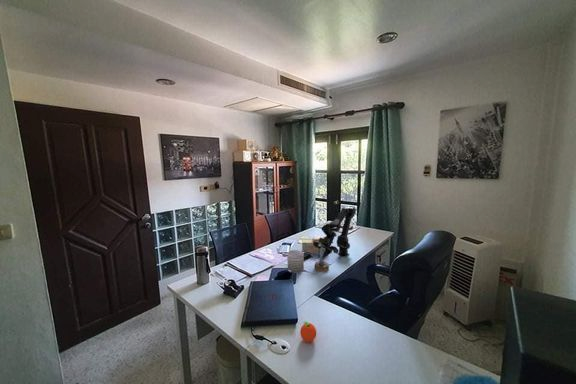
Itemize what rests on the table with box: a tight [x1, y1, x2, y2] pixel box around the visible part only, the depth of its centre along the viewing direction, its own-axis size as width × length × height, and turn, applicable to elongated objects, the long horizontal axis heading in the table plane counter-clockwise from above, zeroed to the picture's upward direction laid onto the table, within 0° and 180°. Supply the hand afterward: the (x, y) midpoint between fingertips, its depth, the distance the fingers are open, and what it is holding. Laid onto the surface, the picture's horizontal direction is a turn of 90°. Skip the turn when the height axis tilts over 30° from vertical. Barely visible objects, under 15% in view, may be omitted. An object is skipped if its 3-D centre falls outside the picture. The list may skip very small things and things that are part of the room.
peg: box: [319, 249, 325, 266], centre depth 160 cm, size 3×3×12 cm
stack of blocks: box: [301, 236, 325, 254], centre depth 189 cm, size 21×6×12 cm, turn 85°
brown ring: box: [314, 260, 330, 273], centre depth 161 cm, size 10×10×3 cm
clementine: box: [299, 321, 317, 343], centre depth 98 cm, size 8×7×7 cm
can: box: [286, 249, 305, 274], centre depth 160 cm, size 11×11×12 cm
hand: (320, 258), depth 159 cm, fingers closed on peg, 3 cm apart
